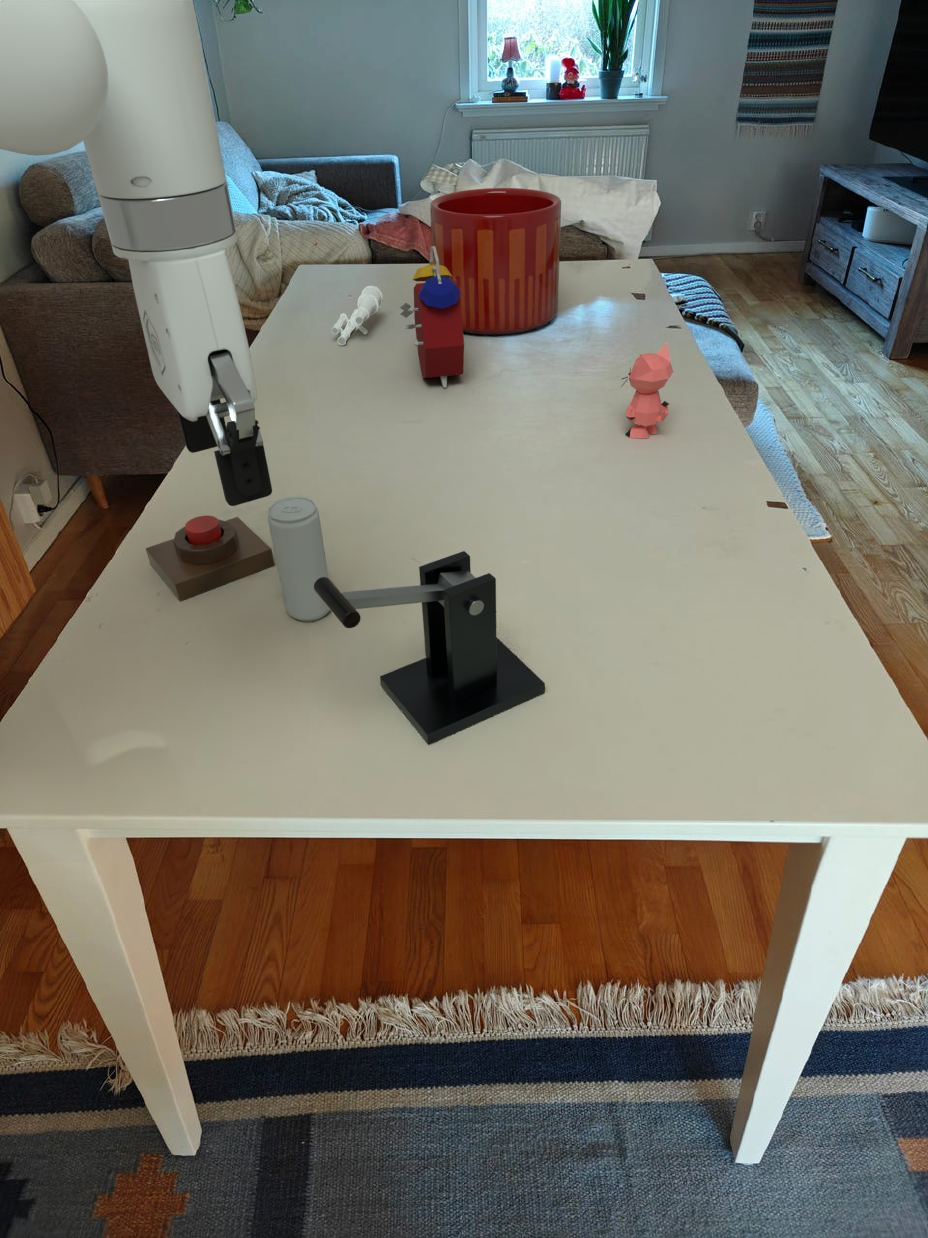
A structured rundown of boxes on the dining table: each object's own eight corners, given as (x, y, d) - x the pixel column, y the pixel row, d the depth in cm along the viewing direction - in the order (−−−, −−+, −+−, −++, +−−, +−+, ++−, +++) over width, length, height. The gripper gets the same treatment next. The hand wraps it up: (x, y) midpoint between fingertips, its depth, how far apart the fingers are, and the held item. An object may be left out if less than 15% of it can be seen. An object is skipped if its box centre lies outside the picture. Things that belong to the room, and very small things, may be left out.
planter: (421, 335, 154) (414, 214, 142) (451, 297, 172) (446, 186, 159) (547, 341, 149) (551, 216, 137) (564, 301, 167) (569, 187, 155)
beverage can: (329, 623, 86) (313, 520, 78) (282, 624, 86) (261, 521, 79) (336, 595, 89) (321, 495, 82) (291, 596, 90) (271, 495, 82)
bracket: (428, 745, 72) (418, 624, 64) (380, 685, 78) (366, 569, 70) (545, 693, 76) (549, 575, 69) (491, 640, 83) (489, 527, 75)
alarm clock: (467, 392, 132) (462, 256, 120) (411, 397, 131) (402, 261, 119) (453, 358, 144) (448, 232, 132) (402, 363, 143) (392, 236, 131)
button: (195, 549, 91) (192, 535, 90) (183, 536, 93) (179, 522, 92) (227, 538, 92) (224, 524, 91) (214, 525, 95) (211, 511, 94)
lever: (340, 635, 63) (345, 607, 62) (311, 598, 67) (315, 571, 65) (486, 617, 70) (492, 592, 69) (452, 585, 74) (457, 561, 73)
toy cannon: (351, 355, 151) (327, 334, 150) (364, 329, 163) (342, 310, 161) (379, 323, 148) (355, 301, 146) (390, 299, 159) (368, 278, 157)
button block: (179, 601, 90) (170, 569, 87) (150, 564, 95) (141, 534, 93) (274, 565, 95) (268, 534, 92) (241, 532, 100) (234, 502, 98)
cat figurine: (640, 418, 123) (648, 335, 115) (680, 431, 118) (691, 346, 111) (609, 433, 119) (615, 348, 111) (650, 448, 115) (659, 361, 107)
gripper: (80, 204, 57) (148, 441, 67) (142, 261, 44) (213, 539, 55) (191, 189, 59) (240, 418, 70) (278, 238, 47) (321, 507, 58)
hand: (228, 471), depth 62 cm, fingers open, 9 cm apart
